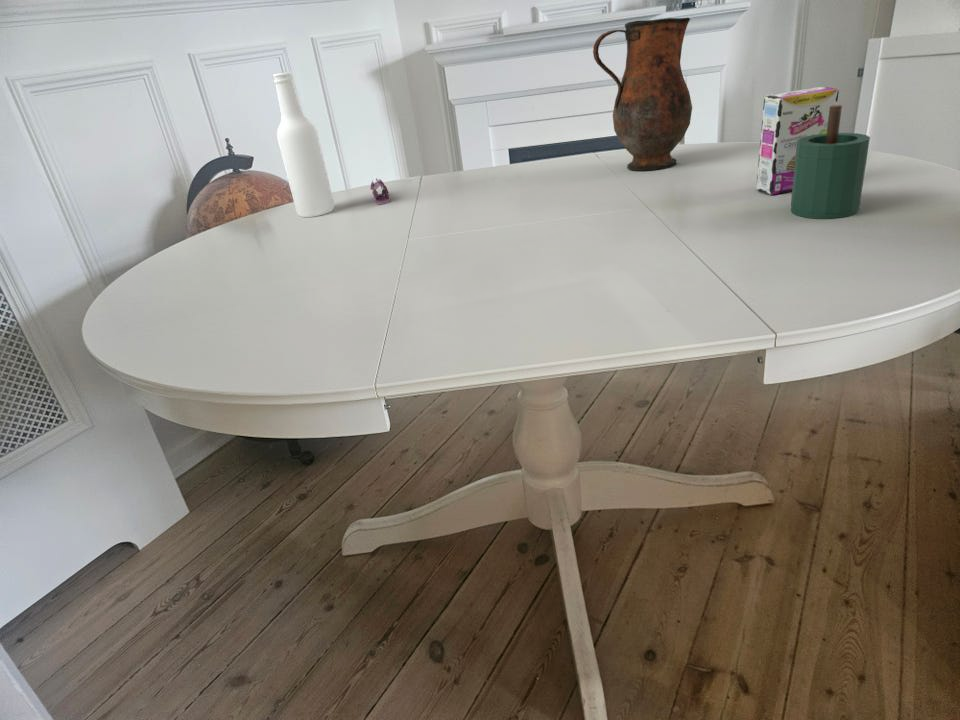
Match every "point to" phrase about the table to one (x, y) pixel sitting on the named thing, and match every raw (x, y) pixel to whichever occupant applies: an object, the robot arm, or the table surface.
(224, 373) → the table surface
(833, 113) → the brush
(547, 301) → the table surface
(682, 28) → the pitcher
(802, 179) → the cup
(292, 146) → the alcohol
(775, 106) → the candy bar box
